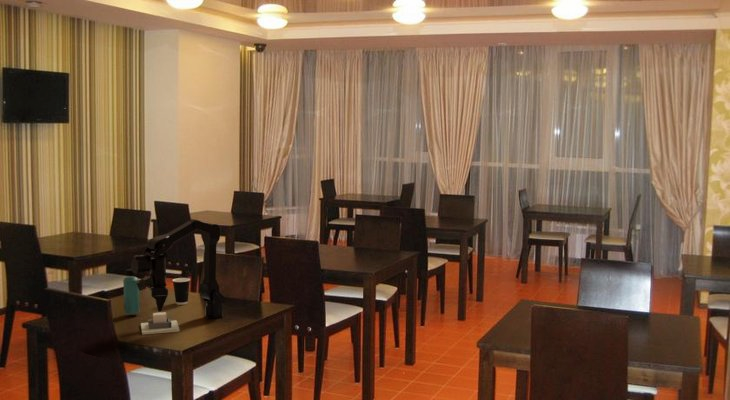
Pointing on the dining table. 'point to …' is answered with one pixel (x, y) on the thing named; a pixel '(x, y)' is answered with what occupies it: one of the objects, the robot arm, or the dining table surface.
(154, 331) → the header board
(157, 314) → the plug
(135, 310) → the beverage bottle
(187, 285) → the dixie cup
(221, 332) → the dining table surface
